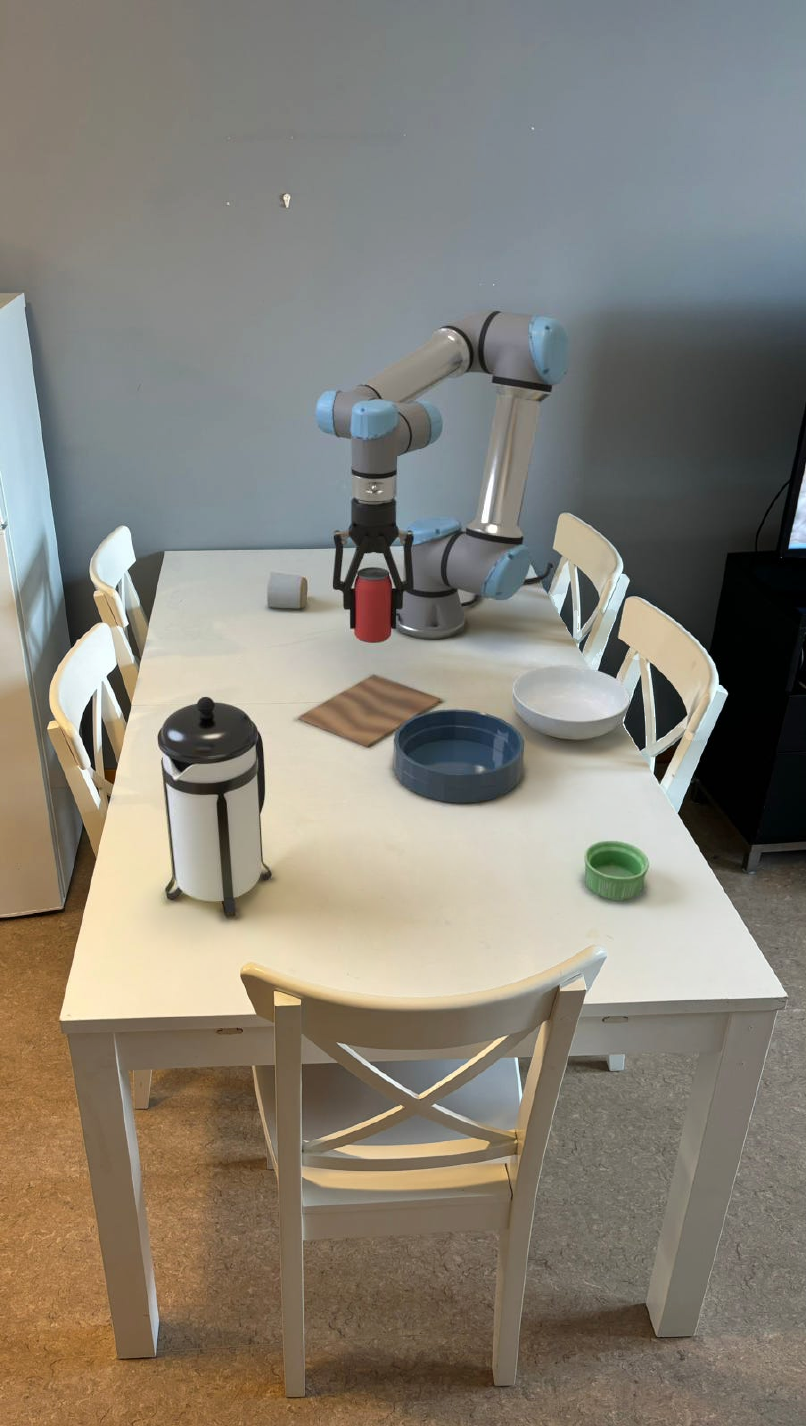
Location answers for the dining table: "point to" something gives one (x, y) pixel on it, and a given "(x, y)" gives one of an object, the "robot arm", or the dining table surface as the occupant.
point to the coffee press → (213, 801)
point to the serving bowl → (570, 701)
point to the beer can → (372, 605)
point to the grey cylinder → (286, 591)
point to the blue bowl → (458, 755)
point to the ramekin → (615, 869)
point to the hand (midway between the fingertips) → (372, 625)
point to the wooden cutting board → (369, 710)
